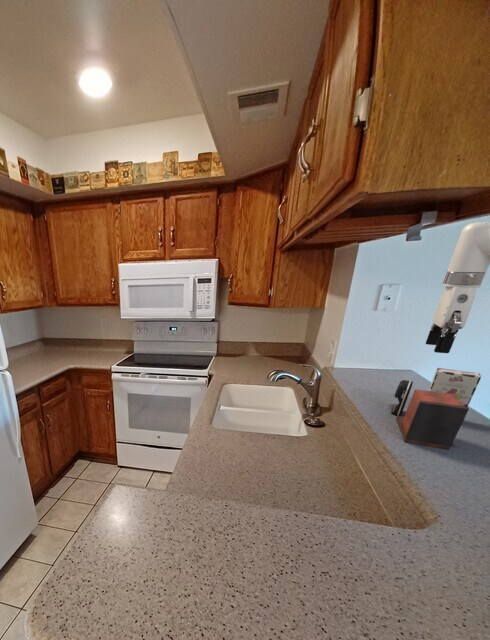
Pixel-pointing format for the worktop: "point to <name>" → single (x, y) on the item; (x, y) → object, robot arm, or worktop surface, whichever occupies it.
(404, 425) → the wooden speaker
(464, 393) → the candy bar box
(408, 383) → the battery charger
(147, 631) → the worktop surface
